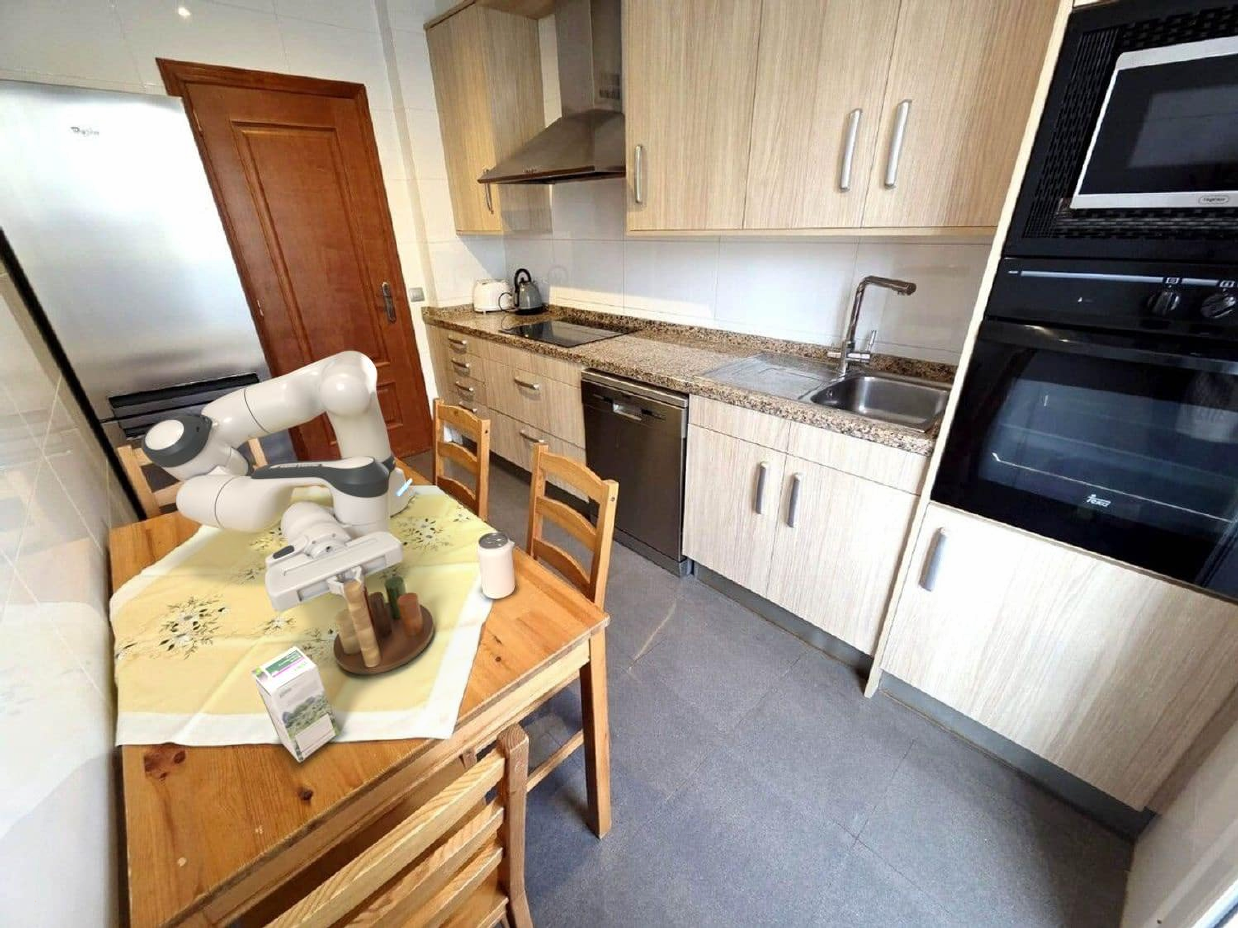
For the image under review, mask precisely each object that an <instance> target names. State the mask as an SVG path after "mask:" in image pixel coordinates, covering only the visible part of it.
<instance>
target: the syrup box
mask: <svg viewBox="0 0 1238 928" xmlns="http://www.w3.org/2000/svg"><path fill="white" fill-rule="evenodd" d="M250 673H251V676H252V679H253V681H254V683H255V686H256V688H257V690H258V692H259V695H260V697H261V700H262V702H263V704H264V706H265V709H266V711H267V714H268V716H269V718H270V720H271V723H272V725H273V728H274V730H275V733H276V735H277V737H278V739H279V741H280V743H281V744H282V745H283V746H284V747H285V748H286V749H287V751H289V753H290V754H291V755H292V757H294V759H295V760H296V761H297V762H298V763H302V762H304V761H305V760H306V759H308V758H309V757H310V756H311V755H313V754H314V753H315V752H317V751H318V750H319V749H321V748H322V747H323V746H324V745H326V744H327V743H328V742H330V741H332V740H333V739H334V738H335V737H337V736H338V735H339V734H340V731H339V727H338V725H337V722H336V719H335V716H334V713H333V710H332V707H331V704H330V701H329V697H328V695H327V692H326V689H325V686H324V683H323V680H322V677H321V674H320V670H319V668H318V665H317V664H316V663H315V662H313V660H312V659H311V658H309V657H308V656H307V655H306V653H304V652H303V651H302V650H301V649H300V648H298V647H297V645H294V646H292V647H291V648H289V649H288V650H286V651H284V652H282V653H280V654H279V655H277V656H276V657H274V658H272V659H270V660H269V661H267V662H266V663H264V664H262V665H260V666H259V667H257V668H255V669H254V670H252V671H251V672H250Z"/></svg>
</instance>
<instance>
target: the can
mask: <svg viewBox="0 0 1238 928" xmlns="http://www.w3.org/2000/svg"><path fill="white" fill-rule="evenodd" d="M476 551H477V552H476V553H477V561H478V567H479V575H480V581H481V588H482V589H481V590H482V593H483V595H484V596H486V597H487V598H489V599H494V600H499V599H504V598H506V597H508V596H511V594H512V593H513V592H514V590H515V588H516V580H515V579H516V578H515V569H514V559H513V549H512V543H511V541H510V540H509V537H508V535H507V534H506V533H504V532H501V531H492V532H488V533H485V534H484V535H482V536H480V538H479V539H478V545H477V548H476Z"/></svg>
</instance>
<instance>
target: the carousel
mask: <svg viewBox="0 0 1238 928" xmlns="http://www.w3.org/2000/svg"><path fill="white" fill-rule="evenodd" d="M363 586H364V589H365V591H363V590H362V586H361V583H360V582H359V581H352V582H349V583H347V584H346V585H345V586H344V587H343V590H344V593H345V597H346V599H345V600H346V604H347V606H348V608H344V609H342V610H340V611H338V612H337V613H335V615H334V617H333V620H334V624H335V626H336V630H337V634H336V637H335V639H334V641H333V650H332V651H333V655H334V657H335V660H336V662H337V664H338V665H339V666H340V667H341V668H343V670H346V671H348V672H350V673H354V674H359V675H376V674H375V673H380V674H382V673H381V672H385V671H388V670H391V669H394V668H396V667H399V666H401V665H403V664H405V663H406V664H408V663H409V662H411V661H412V660H414V659H415V658H416V657H417V656H418V655H419V654H421V652H422V651H424V649H425V648H427V645H428V644H429V643H430V641H431V639H432V637H433V634H434V631H435V623H434V619H433V615H432V613H431V611H430V610H429V609H428V608H427V607H426V606H424V605H422V604H421V603H420V601H419V597H418V594H417V593H415V592H407V589H406V583H405V580H404V578H403V577H402V576H399V575H397V576H392V577H389V578H388V579H386V580H385V581H384V583H383V587H384V590H385V594H386V598H387V602H386V599H385V596H384V593H383V592H382V591H375V592H372V593H369V589H368V587H367V586H366V585H363ZM415 656H416V657H415ZM414 657H415V658H414ZM413 658H414V659H413ZM411 659H412V660H411ZM410 660H411V661H410ZM408 661H409V662H408ZM407 662H408V663H407ZM406 664H405V665H406ZM403 666H404V665H403ZM401 667H402V666H401ZM399 668H400V667H399ZM394 670H395V669H394ZM388 672H389V671H388ZM385 673H386V672H385Z"/></svg>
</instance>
